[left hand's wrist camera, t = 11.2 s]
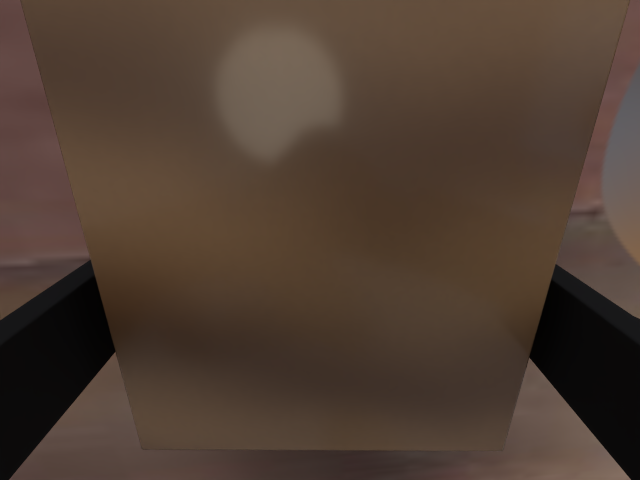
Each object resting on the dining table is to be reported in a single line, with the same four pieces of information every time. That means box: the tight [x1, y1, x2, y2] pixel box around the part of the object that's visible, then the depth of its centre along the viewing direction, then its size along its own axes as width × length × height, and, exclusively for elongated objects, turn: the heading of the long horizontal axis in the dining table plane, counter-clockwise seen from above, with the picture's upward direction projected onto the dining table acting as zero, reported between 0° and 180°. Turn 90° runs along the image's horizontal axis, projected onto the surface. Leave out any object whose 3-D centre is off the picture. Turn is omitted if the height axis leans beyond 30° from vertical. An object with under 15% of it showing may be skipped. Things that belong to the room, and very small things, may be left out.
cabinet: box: [20, 0, 630, 451], centre depth 11 cm, size 20×11×10 cm, turn 0°
